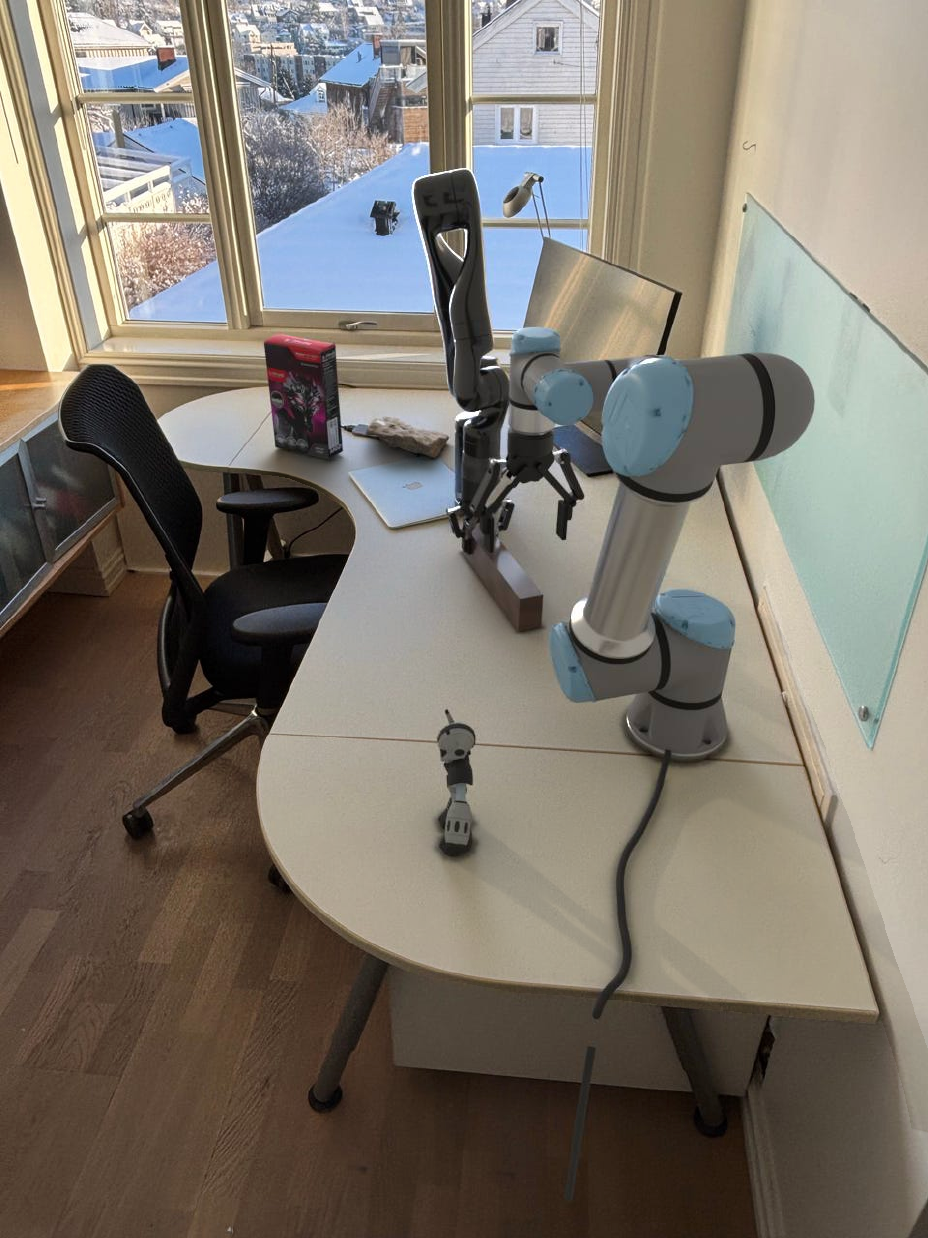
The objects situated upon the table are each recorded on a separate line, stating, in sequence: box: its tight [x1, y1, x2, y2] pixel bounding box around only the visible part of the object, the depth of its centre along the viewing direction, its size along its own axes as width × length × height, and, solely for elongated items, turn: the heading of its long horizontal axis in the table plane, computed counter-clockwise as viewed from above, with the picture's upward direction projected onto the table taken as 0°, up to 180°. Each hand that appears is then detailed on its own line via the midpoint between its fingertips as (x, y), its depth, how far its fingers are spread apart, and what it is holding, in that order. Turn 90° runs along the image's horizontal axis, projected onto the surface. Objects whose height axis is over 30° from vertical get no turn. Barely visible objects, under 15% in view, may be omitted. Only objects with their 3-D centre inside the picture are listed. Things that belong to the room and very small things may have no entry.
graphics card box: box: [263, 333, 344, 460], centre depth 223 cm, size 17×7×27 cm, turn 62°
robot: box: [436, 708, 477, 857], centre depth 119 cm, size 20×5×20 cm, turn 3°
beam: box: [461, 523, 544, 633], centre depth 176 cm, size 30×4×7 cm, turn 20°
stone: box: [365, 416, 450, 458], centre depth 231 cm, size 21×15×6 cm
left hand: (479, 550), depth 185 cm, fingers closed on beam, 4 cm apart
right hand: (525, 542), depth 160 cm, fingers open, 13 cm apart
